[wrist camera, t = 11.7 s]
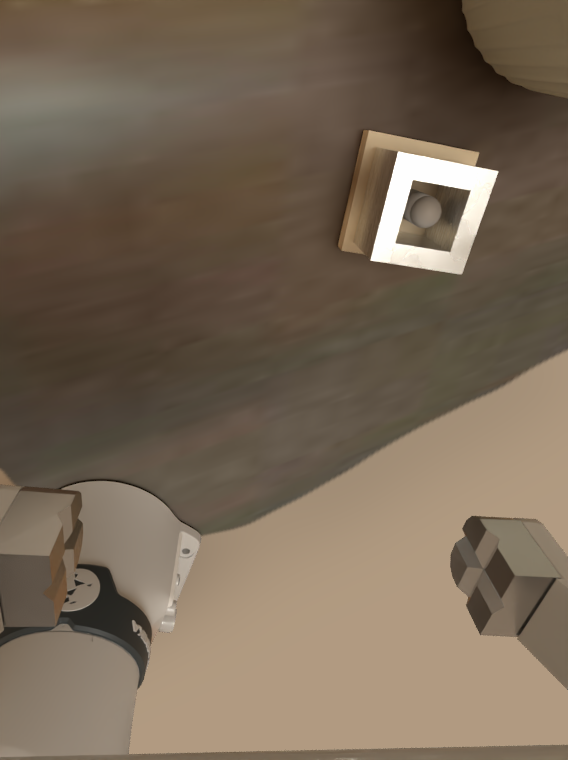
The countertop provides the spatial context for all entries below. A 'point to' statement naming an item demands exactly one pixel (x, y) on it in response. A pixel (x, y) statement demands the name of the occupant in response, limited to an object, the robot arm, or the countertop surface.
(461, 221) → the white hollow square block
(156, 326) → the countertop surface
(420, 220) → the base plate
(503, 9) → the canister
